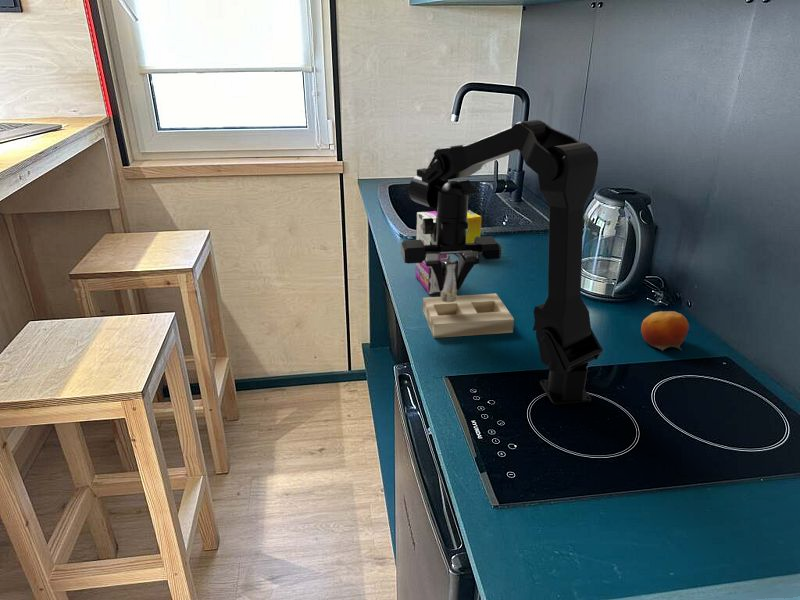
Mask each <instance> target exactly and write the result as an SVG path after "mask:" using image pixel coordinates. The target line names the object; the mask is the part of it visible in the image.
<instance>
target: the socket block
mask: <svg viewBox="0 0 800 600" xmlns="http://www.w3.org/2000/svg"><path fill="white" fill-rule="evenodd" d="M422 312H423V314H424V316H425V319H426V323H427V325H428V327H429V329H430V331H431V335H432V337H433V339H436V338H437V339H438V338H450V337H452V338H453V337H454V338H455V337H463V336H465V337H468V336H479V335H480V336H481V335H497V334H509V333H510V334H511V333H514V324H515V319H514V317H513V315H512V314H511V313H510V311H509V310H508V308H507V307H506V305H505V304H504V302H503V301H502V300H501V298H500V297H499V295H498V294H497V293H484V294H483V293H482V294H466V295H463V294H462V295H457V299H456V301H454V302H444V301H442V300H441V296H432V297H431V296H430V297H429V296H428V297H422Z"/></svg>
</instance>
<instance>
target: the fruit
mask: <svg viewBox="0 0 800 600" xmlns="http://www.w3.org/2000/svg"><path fill="white" fill-rule="evenodd" d="M689 328H690V324H689V321H688V319H687V318H686V317H685V316H684V315H683V314H682V313H679V312H677V311H674V310H673V311H667V310H666V311H665V310H664V311H662V310H659V311H656V312H652V313H650V314H649V315H648V316H646V317H645V318H644V319H643V321H642V322H641V328H640V333H641V335H642V339H643V340H644V341H645V342H646V343H647V344H648V345H649V346H651V347H654V348H656V349H659V350H661V351H662V352H664V350H666V349H668V348H677V349H679V350H680V351H682V350H683V349H682V348H681V347H680V346H681V345H682V344H683V342H684V341H685V340H686V339H685V338H686V337H687V334H688V331H689ZM682 352H683V351H682Z"/></svg>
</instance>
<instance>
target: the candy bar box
mask: <svg viewBox="0 0 800 600" xmlns="http://www.w3.org/2000/svg"><path fill="white" fill-rule="evenodd" d="M436 215H437V210H433V211H431V210H430V211H418V212H416V233H415V235H416V237H415V238H416V239H415V240H421V241H422V242H423V244H424V245H436V242H434V241H433V239H432V234H423V219H425V218H433V222H434V223H436ZM450 256H451V254H441V255H439V260H440V261H441V263H442V260H444V259H451V258H450ZM415 278H416V279H417V281H418V283H420V285H421V286H422V287H423V289H424V290H425V291H426V293H427V294H428V295H437V294H438V295H441V291H439V288H438V285H437V282H436V278H435V275H434V272H433V269H432V267H431V266H426V264H425V262H424V261H423V262H422V263H415Z"/></svg>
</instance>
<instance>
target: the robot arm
mask: <svg viewBox="0 0 800 600" xmlns="http://www.w3.org/2000/svg"><path fill="white" fill-rule="evenodd" d="M518 152H520V153H521V155H522V159H523V161H524V163H525V164H526V166H527V167H529V169H531V170H532V171H534V173H536V174H537V179H538V186H539V187H538V188H539V190H540V193H541V195H542V196H543V199H544V200H545V202H546V204H547V205H548V265H547V266H548V268H547V269H548V270H547V272H548V273H547V275H548V276H547V281H548V282H547V283H548V284H547V298H546V300H545V302H544V303H541V304H538V305H535V306H534V310H533V317H534V318H533V319H534V326H533V327H532V331H533V332H535V338H536V340H537V343H538V350H539V357H540V361H541V364H543V365H545V366H546V367H547V370H548V371H549V373H548V379H541V380H540V381H539V385H540V386H541V387H542V389H543V391H544V393H546V396H547V397H548V399H549V400H550V402H551V403H552V404H553V405H555V406H558V405H568V404H569V405H570V404H582V403H591V402H592V397H591V395H589V393H588V392H587V390H586V389H585V386H586V381H587V374H588V367H589V363H591V362H592V361H594V360H597V359H599V358H600V356H601V354H603V351H604V349H603V348H602V345H601V344H600V343H599V340H598V338H597V336H596V335H595V333H594V331H593V329H592V327H591V326H592V325H591V317H590V316H591V315H590V311H589V308H588V306H587V305H586V303H585V302H584V299H583V298H582V293H581V291H582V266H583V265H582V264H583V240H584V239H583V237H584V236H583V235H584V233H583V231H584V210H585V209H584V208H585V204H586V201H587V200H588V198H589V197H590V194H591V192H592V190H593V188H594V186H595V182H596V179H597V173H598V172H597V171H598V169H599V168H598V166H599V157H598V153H597V151H596V150H595V149H594V148H593V147H592V146H591V145H590V144H588V143H587V142H583V141H579V140H578V139H576V138H575V137H573V136H571V135H569V134H566V133H564V132H561V131H560V130H557V129H556V128H552V127H551V126H550V125H549V124H547V123H546V122H544V121H542V120H540V119H533V120H531V119H530V120H525V121H524V120H523V121H518V122H516V123H515V124H513V125H512V126H509V127H508V128H505V129H503V130H500V131H497V132H495V133H492V134H490V135H488V136H486V137H482V138H480V139H477V140H475V141H473V142H470V143H467V144H464V143H463V144H458V145H451V146H444V147H438V148H436V150H435V151H434V152H433V157H432V159H431V160H430V163H429V164H428V166H427V168H426V167H424V168H418V169H416V175H415V176H414V177H413V178H412V179H411V181H410V183H409V185H408V189H407V193H408V197H409V198H410V199H411V201H413V202H415V203H417V204H420V205H423V206H425V207H429V208H431V209H436V212H437V215H436V223H434V222H433V218H425V219H423V234H432V239H433V241H434V242H436V245H424V244H423V242H422V241H421V240H416V239H407V240H403V241H402V243H400V244H401V245H400V253H401V257H402V260H403V262H404V263H405V264H408V265H409V264H416V263H422V262H423V261H424V262H425V264H426V266H431V267H432V269H433V272H434V275H435V278H436V282H437V285H438V288H439V291H442V263H441V261H440V260H439V255H441V254H450V255H455V254H458V256H459V257H458V256H457V257H458V278H457V291H459V290H460V289H461V288H462V285H463V283H464V282H465V280H466V278H467V276H468V275H469V273H470V272H471V270H472V269H473V267H474V266H475V265H477V264H480V259H479V257H478V256H479V255H478V253H479V254H480V253H481V256H482V257H483V258H484V259H485V260H499V259H501V257H502V246H501V244H499V242H498V241H497V240H496V239H495V238H494V237H493V236H492V235H491V236H489V235H488V236H480V237H475V239H474V243H466V230H467V229H468V223H467V212H468V209H469V208H468V207H469V196H472V195H476V194H477V193H478V190H477V189H476V187H475V186H474V185H473V184H472V183H471V181H470V180H469V179H467V180H461V181H457V180H453V179H460V178H465V177H470V176H472V175H474V174H475V173H477V172H479V171H480V170H481V169H482V167H483V166H484V165H486V164H488V163H490V162H494V161H496V160H499V159H501V158H504V157H508V156H510V155H513V154H516V153H518ZM449 180H450V181H449Z"/></svg>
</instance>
